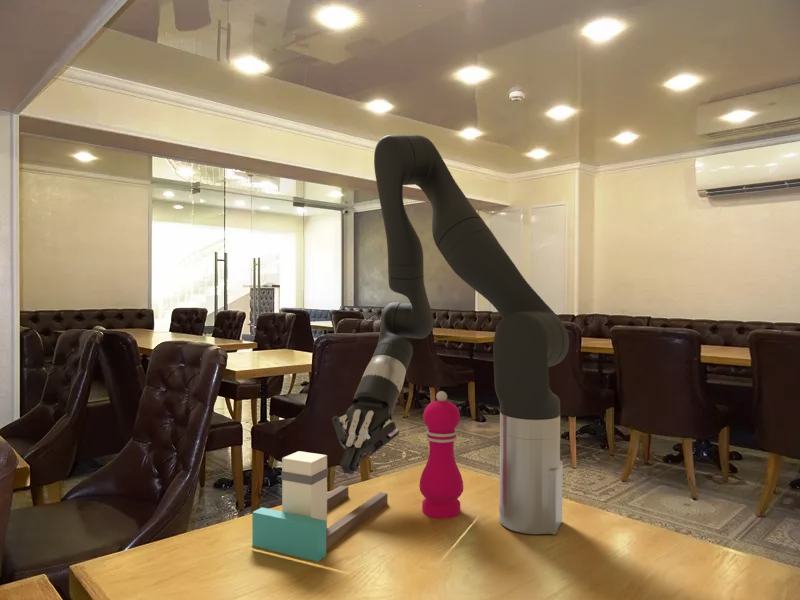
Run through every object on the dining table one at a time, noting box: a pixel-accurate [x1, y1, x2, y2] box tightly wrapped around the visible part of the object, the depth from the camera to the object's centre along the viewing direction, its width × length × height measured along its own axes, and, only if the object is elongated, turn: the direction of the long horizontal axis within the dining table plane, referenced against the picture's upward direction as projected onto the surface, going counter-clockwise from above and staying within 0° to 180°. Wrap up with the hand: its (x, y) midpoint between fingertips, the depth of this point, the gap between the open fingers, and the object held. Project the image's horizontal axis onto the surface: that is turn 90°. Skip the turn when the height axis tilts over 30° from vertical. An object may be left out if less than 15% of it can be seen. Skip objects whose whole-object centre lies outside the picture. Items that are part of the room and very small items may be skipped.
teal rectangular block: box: [251, 506, 327, 562], centre depth 77 cm, size 11×2×5 cm, turn 65°
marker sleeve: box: [280, 450, 329, 529], centre depth 81 cm, size 5×4×12 cm
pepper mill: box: [419, 390, 464, 520], centre depth 92 cm, size 7×7×20 cm
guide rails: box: [326, 485, 388, 551], centre depth 87 cm, size 9×22×2 cm, turn 155°
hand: (347, 471), depth 92 cm, fingers closed
